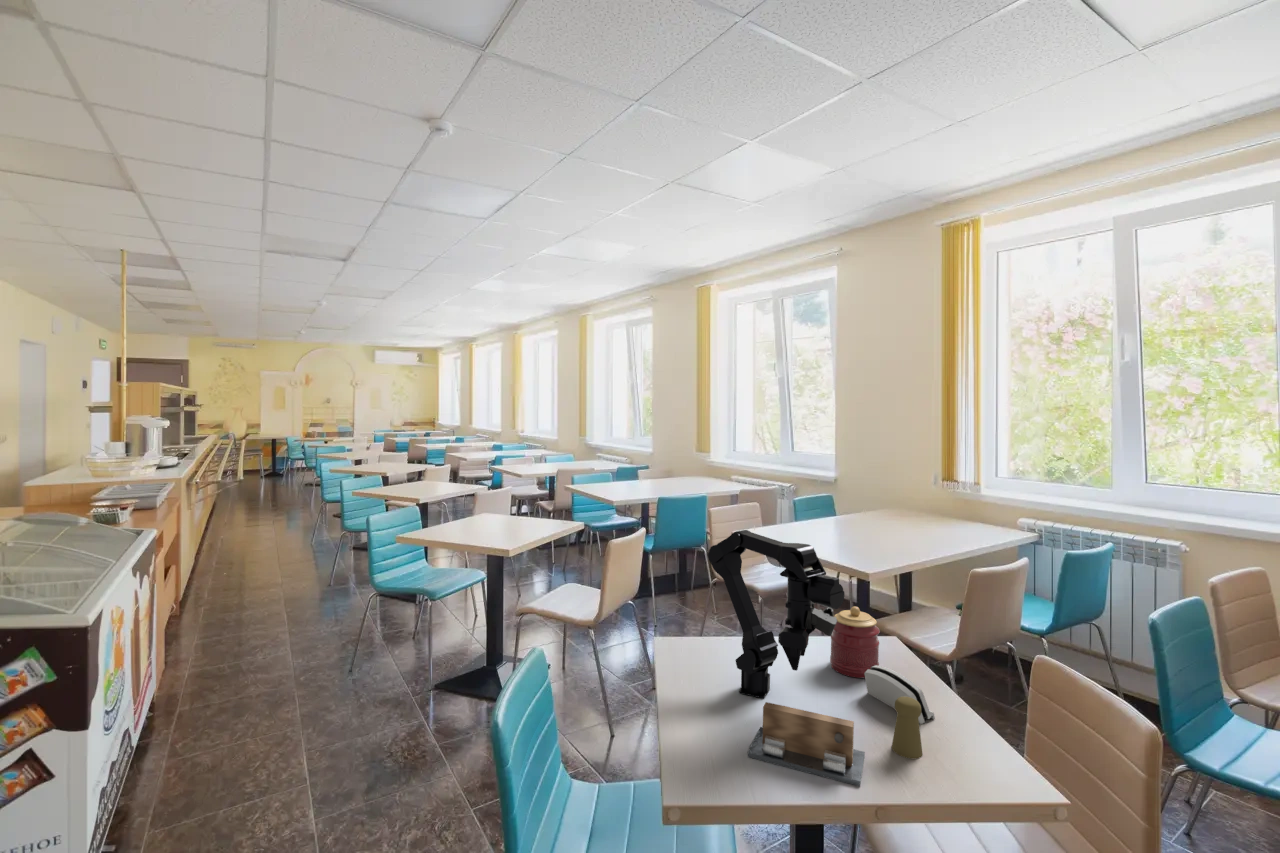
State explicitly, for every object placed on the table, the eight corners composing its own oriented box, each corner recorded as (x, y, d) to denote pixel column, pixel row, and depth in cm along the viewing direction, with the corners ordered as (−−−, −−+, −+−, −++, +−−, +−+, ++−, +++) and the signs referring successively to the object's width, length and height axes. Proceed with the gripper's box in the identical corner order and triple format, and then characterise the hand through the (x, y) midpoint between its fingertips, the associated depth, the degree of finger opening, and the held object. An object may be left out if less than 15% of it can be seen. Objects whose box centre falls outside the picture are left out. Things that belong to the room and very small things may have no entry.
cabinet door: (761, 746, 124) (761, 709, 124) (765, 738, 127) (765, 701, 127) (851, 769, 116) (852, 729, 116) (852, 760, 119) (853, 721, 119)
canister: (838, 655, 174) (839, 596, 174) (884, 667, 167) (885, 605, 166) (823, 670, 164) (824, 608, 164) (871, 683, 156) (873, 617, 156)
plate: (747, 756, 122) (748, 740, 122) (760, 731, 132) (760, 715, 132) (860, 786, 113) (860, 768, 112) (864, 756, 122) (864, 740, 122)
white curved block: (936, 719, 138) (927, 682, 136) (923, 730, 136) (913, 693, 135) (881, 689, 153) (872, 655, 152) (868, 698, 151) (859, 664, 150)
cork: (886, 743, 128) (887, 693, 128) (912, 742, 128) (913, 692, 128) (900, 759, 122) (902, 706, 122) (928, 758, 122) (929, 706, 122)
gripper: (829, 614, 128) (828, 685, 128) (839, 592, 145) (838, 654, 145) (778, 607, 133) (777, 675, 133) (793, 586, 150) (792, 646, 150)
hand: (798, 662), depth 140 cm, fingers open, 9 cm apart
